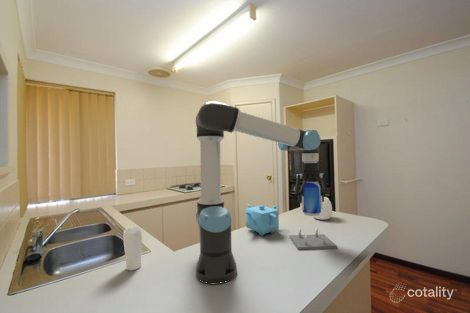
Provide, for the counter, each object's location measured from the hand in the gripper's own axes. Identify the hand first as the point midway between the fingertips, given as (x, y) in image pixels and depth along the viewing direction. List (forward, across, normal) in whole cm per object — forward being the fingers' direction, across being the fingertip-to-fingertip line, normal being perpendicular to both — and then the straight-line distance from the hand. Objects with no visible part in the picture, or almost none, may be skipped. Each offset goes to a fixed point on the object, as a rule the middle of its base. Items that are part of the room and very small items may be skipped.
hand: (311, 208), depth 105 cm
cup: (+17, +21, +37) cm, 46 cm away
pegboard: (+17, 0, 0) cm, 17 cm away
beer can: (+3, 0, 0) cm, 3 cm away
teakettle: (+17, -22, +18) cm, 33 cm away
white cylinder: (+17, -78, -17) cm, 82 cm away
